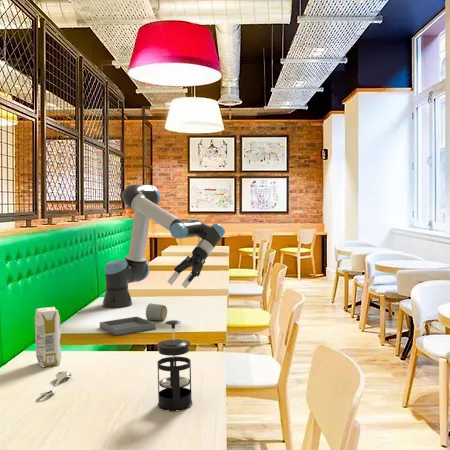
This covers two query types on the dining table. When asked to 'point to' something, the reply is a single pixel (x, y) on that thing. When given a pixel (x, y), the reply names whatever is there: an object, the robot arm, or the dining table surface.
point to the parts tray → (127, 326)
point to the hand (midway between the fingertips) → (176, 284)
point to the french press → (174, 374)
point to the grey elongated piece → (58, 380)
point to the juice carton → (47, 336)
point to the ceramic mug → (156, 312)
